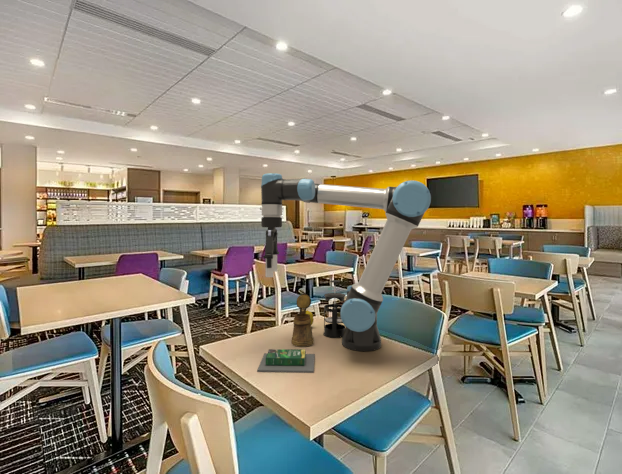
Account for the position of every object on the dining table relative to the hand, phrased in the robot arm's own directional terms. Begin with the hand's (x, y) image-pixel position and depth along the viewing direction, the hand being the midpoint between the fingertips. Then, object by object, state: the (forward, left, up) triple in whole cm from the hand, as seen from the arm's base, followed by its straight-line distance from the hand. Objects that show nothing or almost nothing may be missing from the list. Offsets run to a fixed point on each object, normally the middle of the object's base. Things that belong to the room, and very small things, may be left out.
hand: (271, 274), depth 128 cm
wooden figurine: (-11, -10, -29) cm, 32 cm away
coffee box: (0, +12, -26) cm, 29 cm away
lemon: (-12, -27, -29) cm, 41 cm away
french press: (-24, -19, -29) cm, 42 cm away
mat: (-7, +12, -28) cm, 32 cm away
